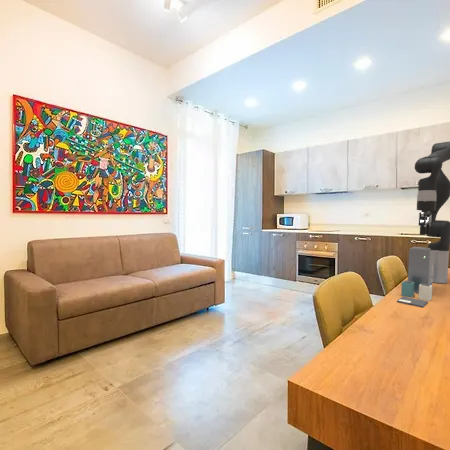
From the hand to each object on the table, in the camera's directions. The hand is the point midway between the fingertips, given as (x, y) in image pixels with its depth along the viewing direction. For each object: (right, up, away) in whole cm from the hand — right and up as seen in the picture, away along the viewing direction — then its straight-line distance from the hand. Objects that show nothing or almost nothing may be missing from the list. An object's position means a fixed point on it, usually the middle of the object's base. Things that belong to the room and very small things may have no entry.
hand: (424, 234), depth 137 cm
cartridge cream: (-10, -27, -14) cm, 32 cm away
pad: (-18, -27, -19) cm, 38 cm away
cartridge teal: (-14, -27, -9) cm, 32 cm away
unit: (-5, -27, -3) cm, 27 cm away
